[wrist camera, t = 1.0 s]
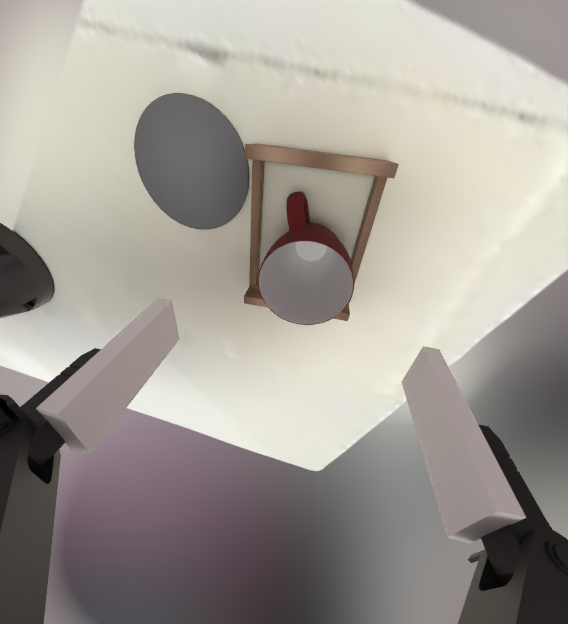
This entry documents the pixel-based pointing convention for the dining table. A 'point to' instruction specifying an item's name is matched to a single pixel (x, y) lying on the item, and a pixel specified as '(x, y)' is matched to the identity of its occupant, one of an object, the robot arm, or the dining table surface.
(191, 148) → the coaster
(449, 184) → the dining table surface
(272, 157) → the wooden tray frame
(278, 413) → the dining table surface
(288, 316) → the mug
